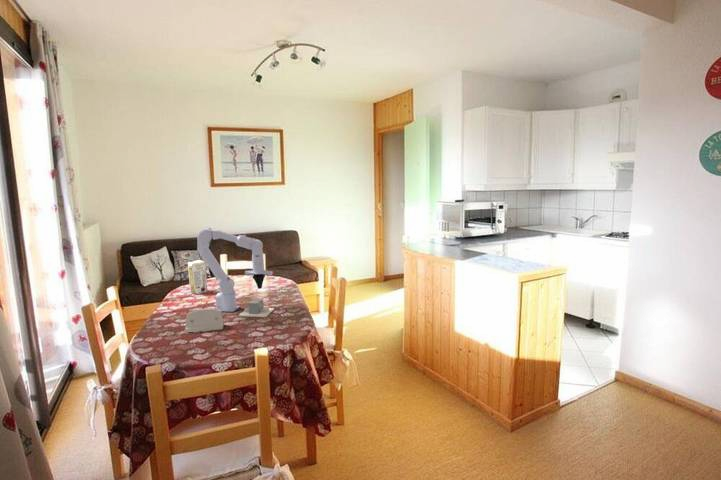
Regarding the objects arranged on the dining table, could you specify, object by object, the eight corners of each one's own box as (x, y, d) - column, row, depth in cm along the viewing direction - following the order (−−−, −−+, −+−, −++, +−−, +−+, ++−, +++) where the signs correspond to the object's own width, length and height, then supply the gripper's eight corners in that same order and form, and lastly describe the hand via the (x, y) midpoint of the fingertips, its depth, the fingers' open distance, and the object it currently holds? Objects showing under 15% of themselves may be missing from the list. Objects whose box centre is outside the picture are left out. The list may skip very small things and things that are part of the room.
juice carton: (209, 291, 247) (206, 260, 244) (196, 295, 240) (193, 263, 237) (201, 289, 251) (198, 259, 248) (189, 293, 244) (185, 262, 241)
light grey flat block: (184, 333, 181) (183, 310, 183) (186, 333, 186) (185, 311, 188) (223, 328, 185) (222, 306, 187) (224, 328, 190) (223, 307, 192)
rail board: (239, 316, 202) (238, 311, 201) (248, 308, 212) (248, 304, 212) (265, 317, 199) (265, 312, 199) (274, 309, 210) (273, 305, 210)
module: (248, 313, 202) (248, 303, 201) (254, 309, 209) (253, 298, 208) (258, 314, 201) (257, 303, 200) (263, 309, 208) (263, 299, 207)
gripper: (241, 264, 209) (243, 290, 212) (268, 264, 207) (270, 290, 209) (247, 261, 216) (249, 286, 218) (273, 261, 214) (275, 286, 216)
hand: (259, 288), depth 214 cm, fingers closed
